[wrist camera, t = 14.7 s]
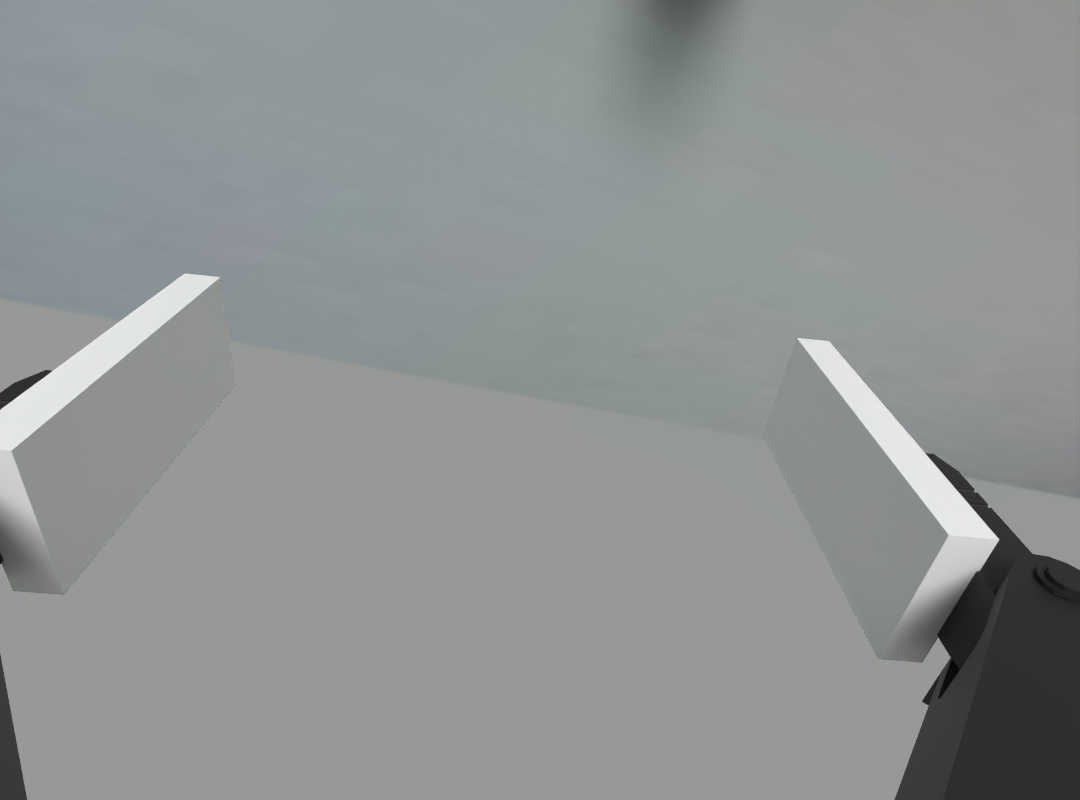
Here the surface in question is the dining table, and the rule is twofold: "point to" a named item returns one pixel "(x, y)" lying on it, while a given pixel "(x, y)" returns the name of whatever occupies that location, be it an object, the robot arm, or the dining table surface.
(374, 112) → the dining table surface
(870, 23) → the dining table surface
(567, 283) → the dining table surface
